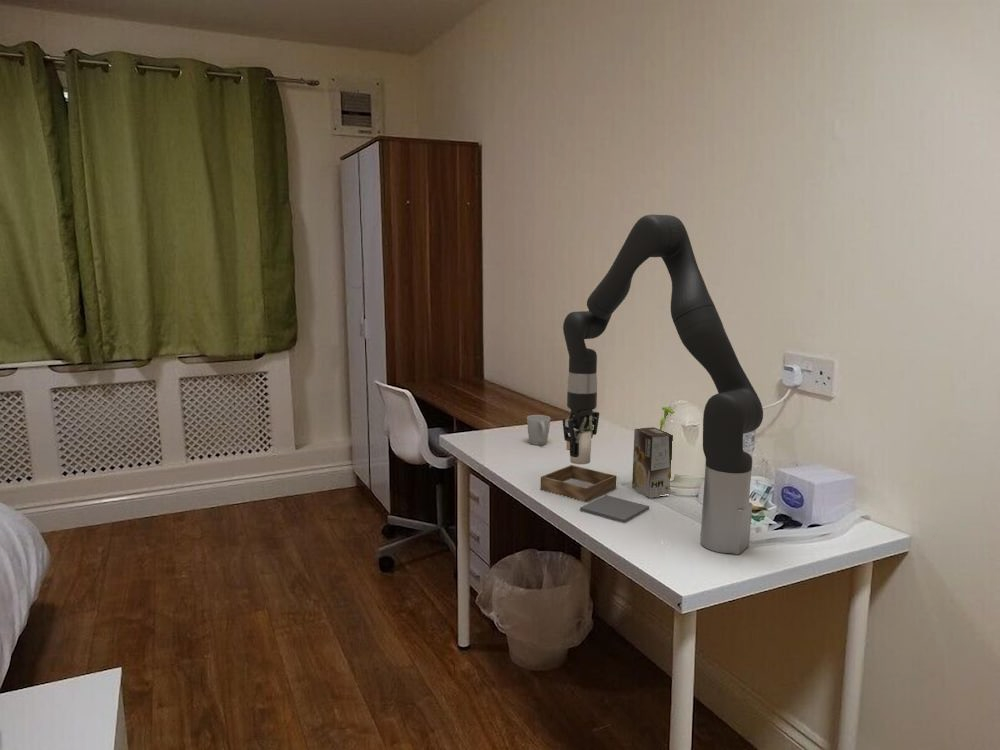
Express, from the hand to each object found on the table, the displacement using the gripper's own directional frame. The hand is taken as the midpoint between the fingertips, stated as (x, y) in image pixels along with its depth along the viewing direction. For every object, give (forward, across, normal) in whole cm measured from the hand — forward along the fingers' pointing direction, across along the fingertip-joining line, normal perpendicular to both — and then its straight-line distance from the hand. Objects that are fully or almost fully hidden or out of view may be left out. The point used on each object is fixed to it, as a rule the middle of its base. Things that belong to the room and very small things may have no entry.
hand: (580, 454), depth 184 cm
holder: (+10, 0, 0) cm, 10 cm away
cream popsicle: (+2, 0, 0) cm, 2 cm away
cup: (+9, +29, +34) cm, 46 cm away
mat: (+10, -7, -15) cm, 19 cm away
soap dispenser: (+10, +23, -13) cm, 28 cm away
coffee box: (+10, +11, -15) cm, 21 cm away
